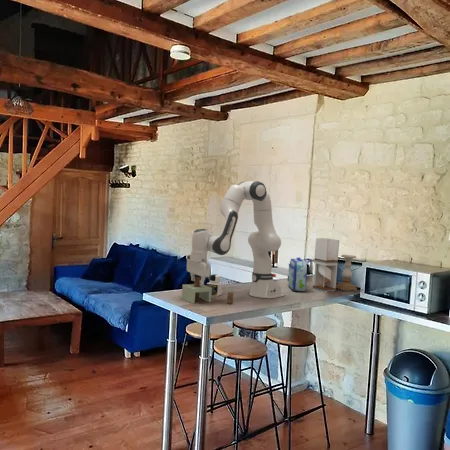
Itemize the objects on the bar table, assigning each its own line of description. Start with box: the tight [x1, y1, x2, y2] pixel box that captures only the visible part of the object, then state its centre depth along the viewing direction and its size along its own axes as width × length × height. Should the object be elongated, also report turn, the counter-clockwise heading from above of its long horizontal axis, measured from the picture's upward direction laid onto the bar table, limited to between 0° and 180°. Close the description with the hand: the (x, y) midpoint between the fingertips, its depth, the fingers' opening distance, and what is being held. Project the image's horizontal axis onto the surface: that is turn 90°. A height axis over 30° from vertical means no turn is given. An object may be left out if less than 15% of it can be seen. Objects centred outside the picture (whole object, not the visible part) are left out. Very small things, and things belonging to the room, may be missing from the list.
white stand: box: [311, 237, 340, 293], centre depth 305 cm, size 11×11×35 cm
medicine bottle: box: [206, 273, 223, 297], centre depth 268 cm, size 7×7×12 cm
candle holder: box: [336, 254, 358, 291], centre depth 312 cm, size 11×11×24 cm
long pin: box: [193, 276, 201, 302], centre depth 249 cm, size 3×3×13 cm
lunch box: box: [287, 257, 308, 292], centre depth 302 cm, size 26×11×21 cm, turn 178°
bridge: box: [181, 283, 212, 305], centre depth 250 cm, size 12×12×8 cm
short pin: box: [226, 292, 234, 305], centre depth 247 cm, size 3×3×6 cm
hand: (197, 282), depth 249 cm, fingers open, 8 cm apart
